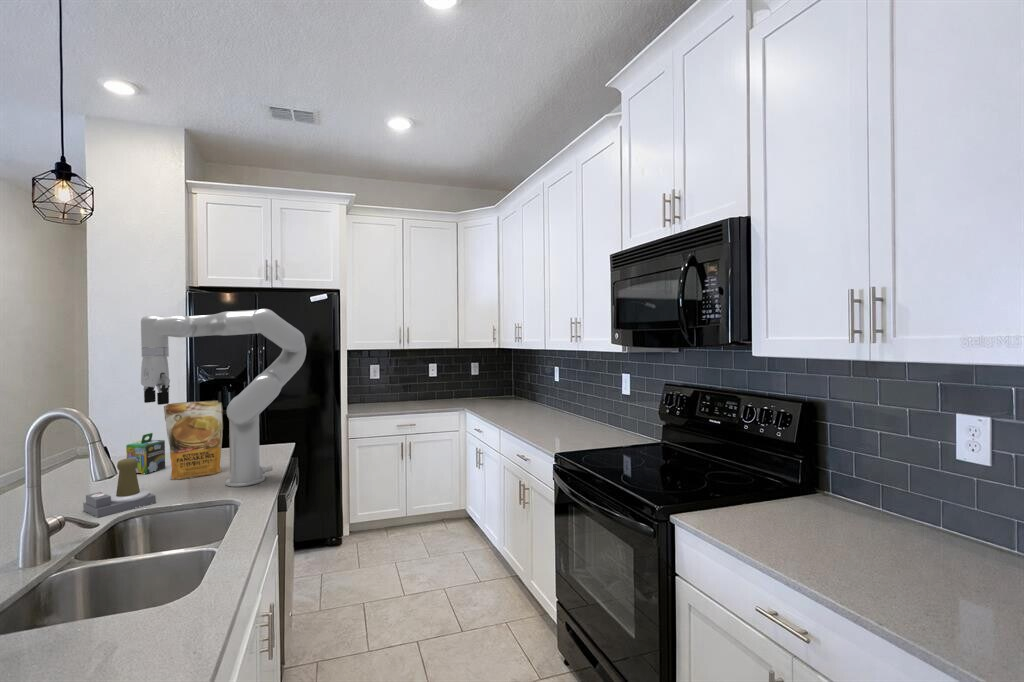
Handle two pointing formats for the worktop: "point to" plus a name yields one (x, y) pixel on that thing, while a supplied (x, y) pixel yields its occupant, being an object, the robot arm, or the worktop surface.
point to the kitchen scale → (116, 502)
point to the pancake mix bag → (194, 438)
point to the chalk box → (147, 454)
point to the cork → (127, 478)
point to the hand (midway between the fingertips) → (156, 403)
